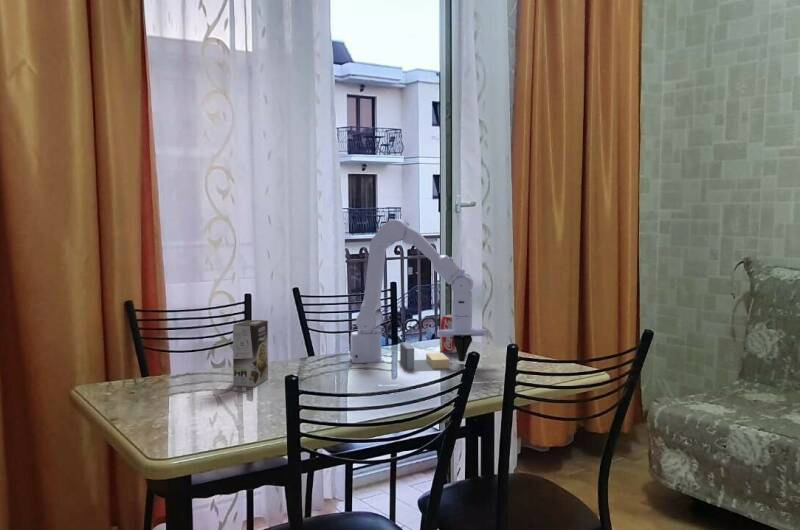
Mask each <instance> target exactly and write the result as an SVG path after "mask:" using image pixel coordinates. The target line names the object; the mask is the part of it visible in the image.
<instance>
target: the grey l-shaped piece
mask: <svg viewBox="0 0 800 530" xmlns="http://www.w3.org/2000/svg"><path fill="white" fill-rule="evenodd" d="M399 349H400V353H399V358H400V359H399V360H398V359H397V363H398V364H399V366H400V368H401V369H402V370H403V372H404V373H405V372H408V373H409V372H410V373H411V372H435V371H437V372H439V371H440V372H441V371H442V372H443V371H453V368H451V366H449V368H435V369H432V368H431V367H430V365H429V364H428V363H427V362H426V359H415V348H414V346H413V345H412V344H411V343H410V342H406V341H405V342H403V341H402V342H400V347H399Z"/></svg>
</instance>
